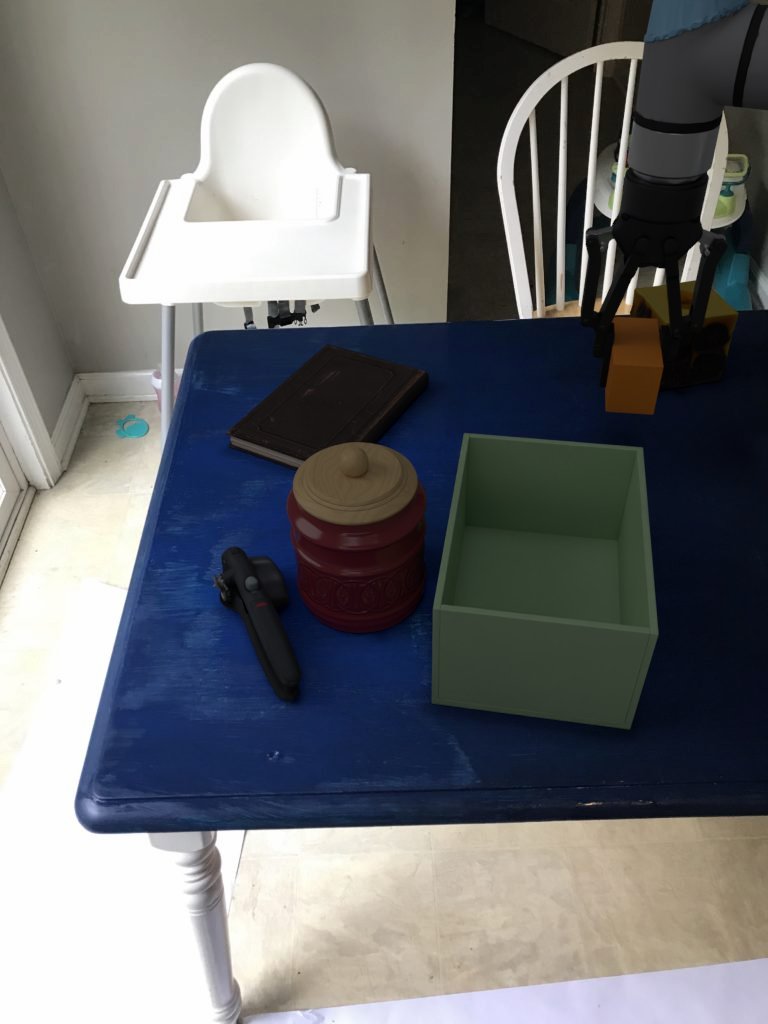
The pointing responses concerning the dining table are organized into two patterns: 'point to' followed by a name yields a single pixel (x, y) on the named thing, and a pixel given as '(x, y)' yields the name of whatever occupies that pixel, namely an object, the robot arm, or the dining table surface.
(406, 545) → the kitchen canister
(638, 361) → the block
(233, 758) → the dining table surface
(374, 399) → the hardcover book
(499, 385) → the dining table surface
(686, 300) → the cube with round hole
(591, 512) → the bin
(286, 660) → the can opener
